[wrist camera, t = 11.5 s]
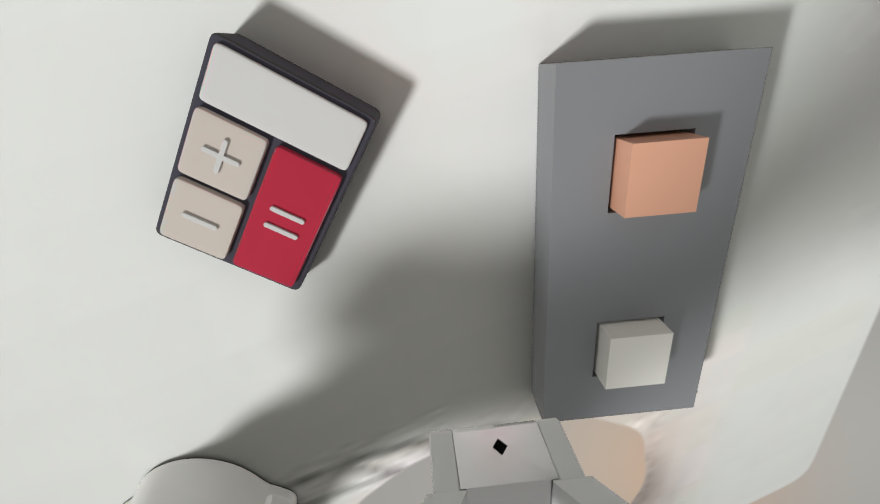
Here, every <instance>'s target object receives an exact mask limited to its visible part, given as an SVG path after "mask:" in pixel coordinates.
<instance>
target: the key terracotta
mask: <svg viewBox="0 0 880 504" xmlns="http://www.w3.org/2000/svg"><path fill="white" fill-rule="evenodd" d="M708 143H709V137H705V136H701V135H697V134H693V133H688V132H684V131H680V130H668V131H656V132H644V133H632V134H620V135H615V139H614V149H613V160H612V171H611V182H610V193H609V203H608V207H610V208H611V209H612V210H614V211H615V212H617V213H618V214H619V215H621V216H622V217H624V218H632V217H643V216H654V215H666V214H677V213H688V212H696V209H697V204H698V198H699V193H700V187H701V182H702V176H703V171H704V165H705V159H706V154H707V148H708Z"/></svg>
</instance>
